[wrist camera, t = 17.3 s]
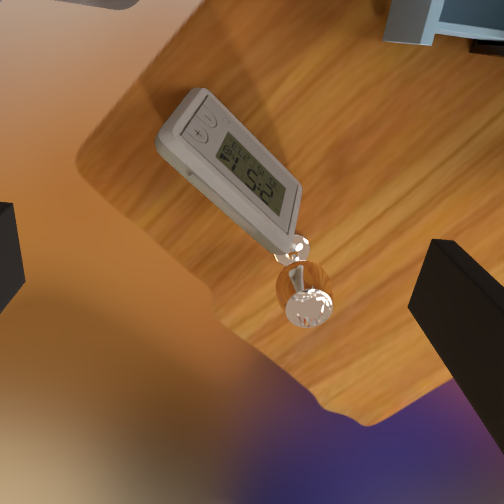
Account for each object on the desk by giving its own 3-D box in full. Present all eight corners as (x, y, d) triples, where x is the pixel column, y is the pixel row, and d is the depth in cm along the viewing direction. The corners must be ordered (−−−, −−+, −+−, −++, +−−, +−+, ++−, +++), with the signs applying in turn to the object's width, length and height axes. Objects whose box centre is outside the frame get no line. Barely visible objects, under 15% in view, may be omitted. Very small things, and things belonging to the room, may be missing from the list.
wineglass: (288, 278, 53) (304, 341, 42) (258, 249, 50) (267, 307, 40) (324, 251, 51) (350, 309, 41) (295, 219, 49) (314, 272, 38)
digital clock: (307, 193, 47) (327, 234, 38) (241, 234, 49) (244, 282, 40) (225, 63, 41) (225, 73, 31) (152, 116, 42) (131, 141, 33)
